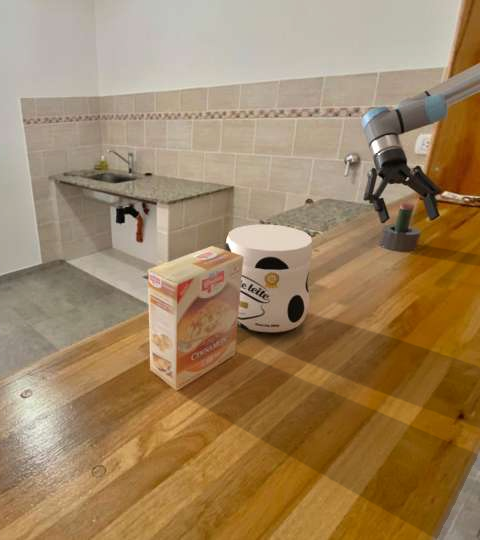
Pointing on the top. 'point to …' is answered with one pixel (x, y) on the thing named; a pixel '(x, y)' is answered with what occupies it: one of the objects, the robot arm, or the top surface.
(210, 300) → the coffeecake box
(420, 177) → the robot arm
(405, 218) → the green marker pen
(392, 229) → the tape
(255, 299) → the milk container
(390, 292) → the top surface
